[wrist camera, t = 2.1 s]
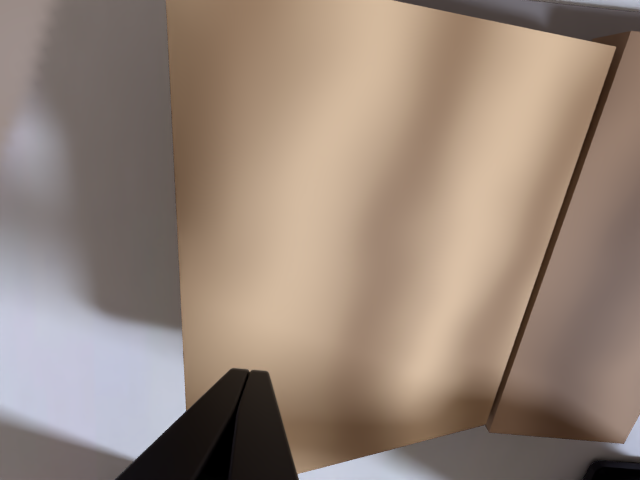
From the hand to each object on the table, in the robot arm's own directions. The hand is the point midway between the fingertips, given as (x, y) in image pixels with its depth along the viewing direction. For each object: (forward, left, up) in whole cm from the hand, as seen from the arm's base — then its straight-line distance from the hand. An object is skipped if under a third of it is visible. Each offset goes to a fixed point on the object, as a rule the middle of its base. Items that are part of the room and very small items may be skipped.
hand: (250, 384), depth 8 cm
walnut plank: (-14, 0, -9) cm, 17 cm away
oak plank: (-3, 0, -7) cm, 8 cm away
